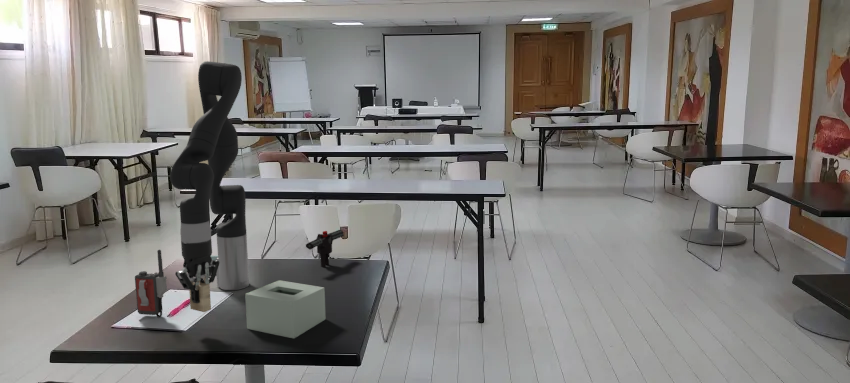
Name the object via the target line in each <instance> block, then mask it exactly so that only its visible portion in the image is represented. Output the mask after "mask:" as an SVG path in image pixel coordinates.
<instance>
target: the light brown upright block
mask: <svg viewBox="0 0 850 383" xmlns="http://www.w3.org/2000/svg"><path fill="white" fill-rule="evenodd" d="M210 284H211V283H210ZM210 284H205V283H201V282H199V289H198V290H199V298H200V303H198V304H197V303H193V301H192V300H191V290H189V289H188V290H189V291H188V292H189V304H190V308H189V309H190V310H193V311H197V312H201V313H205V312H208V311H211V310H212V305H211V303H212V301H211V288H210V287H211V286H210Z"/></svg>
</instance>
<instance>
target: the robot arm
mask: <svg viewBox="0 0 850 383" xmlns="http://www.w3.org/2000/svg"><path fill="white" fill-rule="evenodd" d="M197 76H198V77H197V78H198V80H197V81H198V88H199V89H198V90H199V94H200V99H201V105H202V106H201V108H202V112H203V115H201V116H200V117H199V118H198V119H197V120H196V121H195V123H194V124H193V127H192V128H191V131H190V134H189V137H188V140H187V144H186V146H185V148H184V149H183V150H182V151H181V153H180V155H179V156H178V157H177V159H176V160H175V162H174V163H173V164H172V167H171V169H170V174H169V180H170V183H171V185H172V186H173V187H174V188H175V189H177V190H183V191H184V190H185V191H186V190H188V191H195V194H194V196H193V197H189V198H185V199H183V200H181V201H180V203H179V214H180V246H181V248H180V249H181V256H182V258H183V264H182V268H181V270H177V271H176V270H175V276H176V278H177V280H178V281H179V283H180V285H181V286H182V288H183V289H186V290H191V300H192V301H193V303H197V304H198V303H200V298H199V290H198V289H199V282H201V283H205V284H211V283H214V282H215V279H216V284H217V285H216V286H217V287H218V288H219V289H222V290H224V291H236V290H242V289H245V288H247V287H248V286H249V285H250V279H249V278H250V276H249V258H248V256H249V255H248V239H247V238H248V236H247V222H246V219H247V218H246V189H245V188H244V186H243V185H241V184H240V185H239V184H229V185H221V183H222V180H223V178H224V176H225V174H226V173H227V172H228V170H229V169H230V168H231V166H232V165H233V164H234V163H235V161H236V159H237V157H238V155H239V154H238V153H239V142H238V141H239V140H238V132H237V130H236V128H235V126H234V125H233V123H232V121H231V120H230V119H229V117H228V116H229V114H230V112H231V110H232V109H233V106H234V104H235V102H236V100H237V98H238V96H239V93H240V89H241V87H242V80H243V79H242V70H241V69H240V67H239V66H238V65H236V64H232V63H226V62H216V61H210V60H209V61H208V60H207V61H206V60H205V61H203V62H201V64H200V65H199V68H198V74H197ZM218 96H219V97H220V98H219V99H218ZM206 161H207V163H205V162H206ZM209 206H210V210H211V212H212V213H213V214H214V215H218V216H219V215H220V216H222V215H235V216H234V217H233V218H232V219H231V220H229V221H226V222H224V223H223V224H219V225H218V226H217V227H216V233H215V234H216V245H217V246H216V247H217V256H218V258H216V260H212V258H211V256H212V254H213V247H212V246H213V245H212V244H213V243H212V242H213V241H212V231H211V230H212V229H211V224H210V212H209Z"/></svg>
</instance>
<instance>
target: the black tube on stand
mask: <svg viewBox="0 0 850 383" xmlns="http://www.w3.org/2000/svg"><path fill="white" fill-rule="evenodd" d="M342 237H344V232H343V231H342V230H341V229H338V230H336V231H332V232H330V233H328V231H327V230H325V231H322V233H317V236H316V239H314V240H312V241H310V242H308V243H306V244H305V248H306V249H308V250H312V249H315V248H316V253H317V254H319V259H320V267H321V268H326V266H329V265H330V260H329V259H330V254H331V253H332V252H333V242H334V241H335V240H337V239H340V238H342Z"/></svg>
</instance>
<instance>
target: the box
mask: <svg viewBox="0 0 850 383" xmlns="http://www.w3.org/2000/svg"><path fill="white" fill-rule="evenodd" d="M325 294H326V293H325V287H322V286H317V285H311V284H306V283H305V284H304V283H298V282H293V281H292V282H291V281H287V280H286V281H285V280H280V279H278V280H276V281H274V282H272V283H269V284H266V285H264V286H261V287H259V288H256V289H254V290H251V291H250V292H246V293H244V295H245V298H244V301H245V314H246V318H245V319H246V329H247V330H252V331H256V332H260V333H261V332H262V333H265V334H271V335H275V336H280V337H285V338H290V339H296V338H297V337H299V336H301V335H302V334H304V333H305V332H307V331H308V330H309V331H310V329H312V328H314V327H315V326H317V325H319V324H320V323H322V322H323V321H325V320H326V295H325Z"/></svg>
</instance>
